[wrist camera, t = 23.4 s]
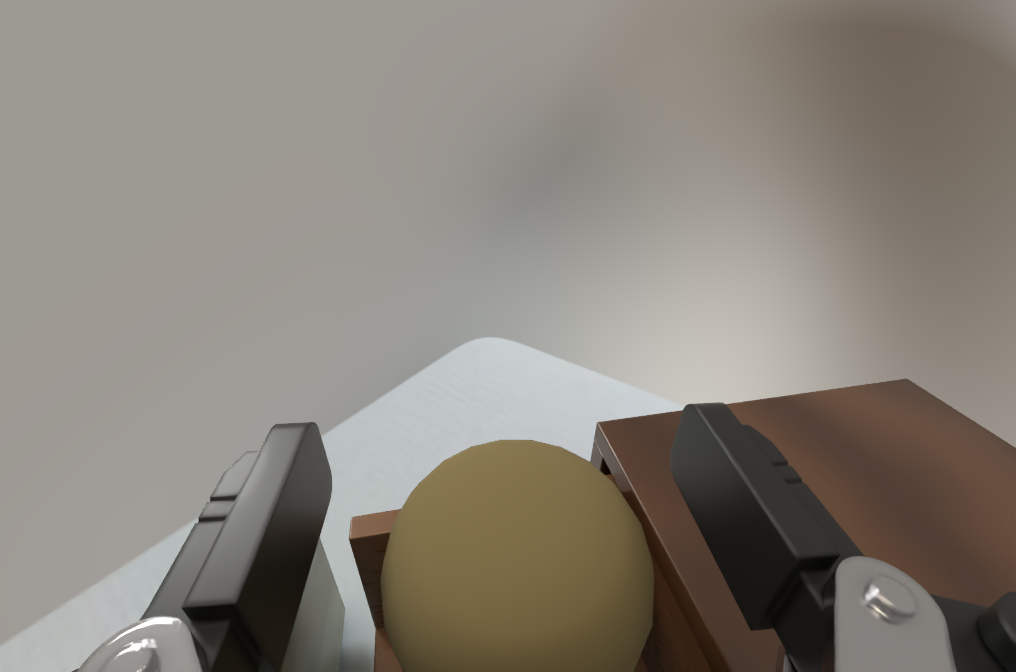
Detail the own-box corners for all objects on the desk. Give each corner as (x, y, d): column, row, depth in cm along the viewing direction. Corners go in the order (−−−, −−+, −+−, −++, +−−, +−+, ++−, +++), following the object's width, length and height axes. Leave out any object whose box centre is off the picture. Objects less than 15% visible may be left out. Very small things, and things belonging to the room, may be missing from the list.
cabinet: (729, 1011, 11) (906, 996, 6) (573, 560, 21) (596, 421, 16) (1131, 842, 13) (1475, 738, 9) (823, 511, 23) (907, 378, 18)
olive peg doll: (387, 683, 15) (315, 452, 9) (542, 598, 17) (566, 372, 11) (453, 961, 10) (396, 867, 4) (651, 794, 13) (787, 586, 7)
